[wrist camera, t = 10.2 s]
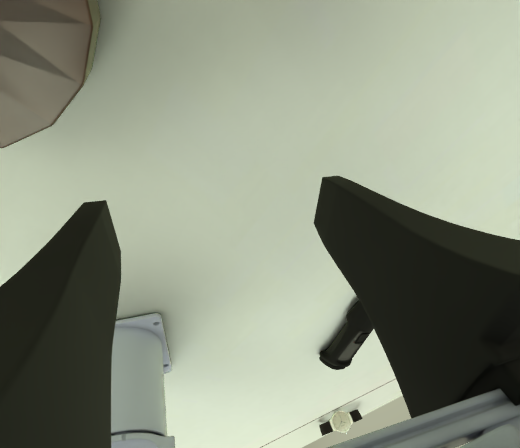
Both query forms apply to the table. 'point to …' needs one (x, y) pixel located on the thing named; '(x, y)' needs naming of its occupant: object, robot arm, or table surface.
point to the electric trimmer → (348, 339)
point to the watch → (340, 422)
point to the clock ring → (42, 61)
